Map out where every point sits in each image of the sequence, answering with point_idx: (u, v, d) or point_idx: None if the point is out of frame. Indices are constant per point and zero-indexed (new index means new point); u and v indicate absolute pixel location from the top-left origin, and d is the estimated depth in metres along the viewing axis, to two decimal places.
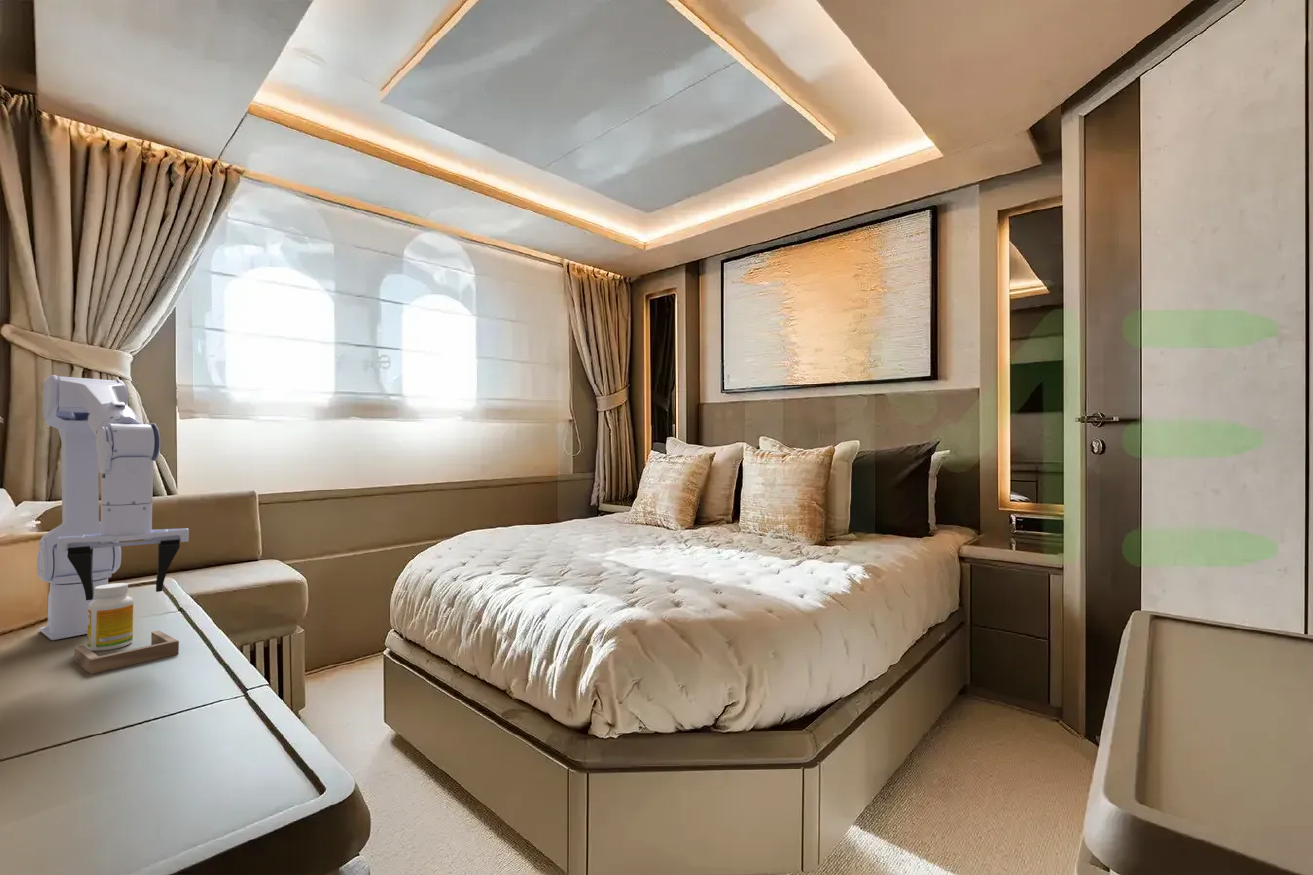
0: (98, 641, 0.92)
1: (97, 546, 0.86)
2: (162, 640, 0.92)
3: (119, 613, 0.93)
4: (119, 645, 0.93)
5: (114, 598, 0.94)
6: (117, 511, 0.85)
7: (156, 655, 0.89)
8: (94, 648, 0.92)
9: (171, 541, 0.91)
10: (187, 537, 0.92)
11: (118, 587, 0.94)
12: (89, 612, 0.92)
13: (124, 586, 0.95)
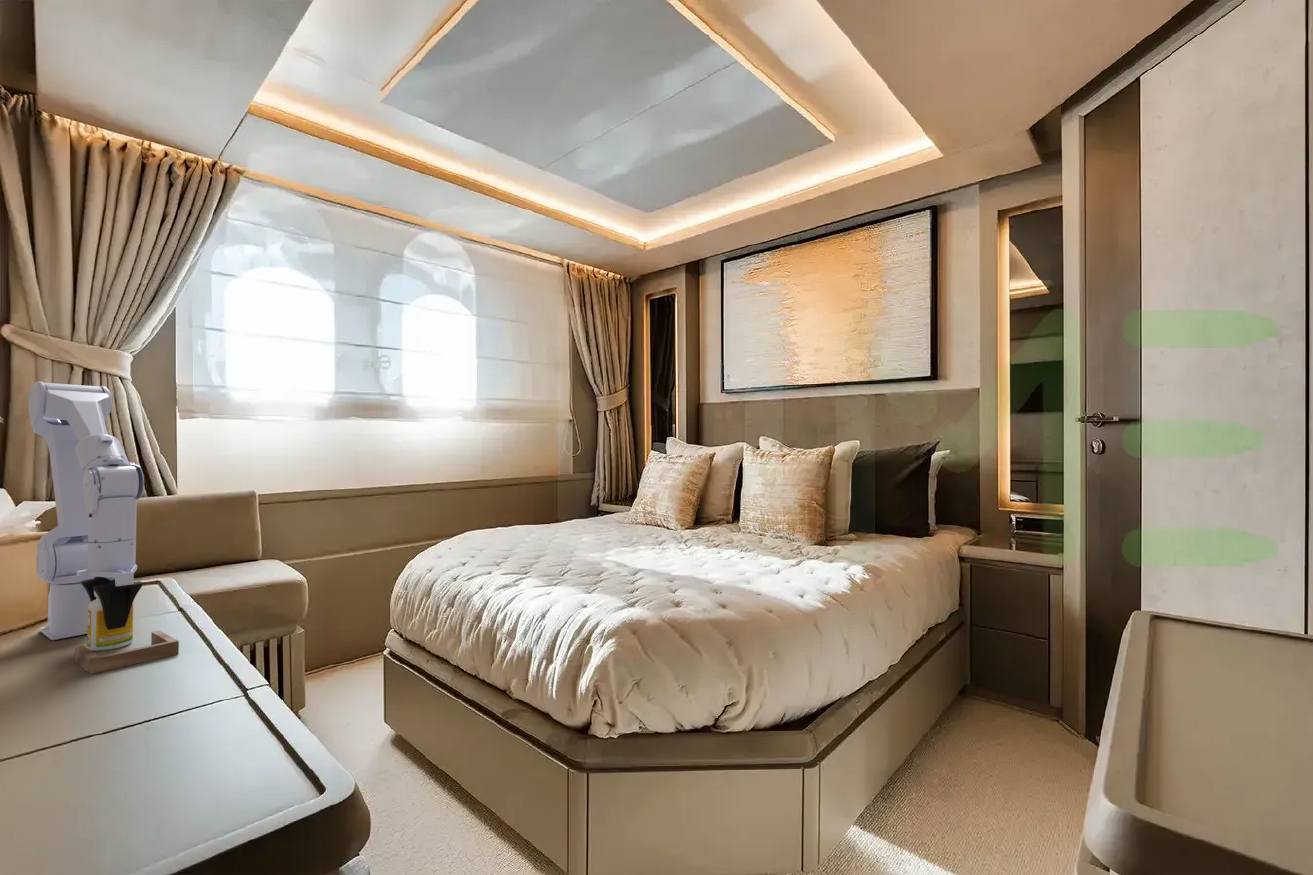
0: (98, 640, 0.92)
1: None
2: (162, 640, 0.92)
3: None
4: (119, 645, 0.93)
5: None
6: None
7: (156, 655, 0.89)
8: (94, 648, 0.92)
9: (114, 583, 0.91)
10: (116, 582, 0.90)
11: None
12: (89, 612, 0.92)
13: None
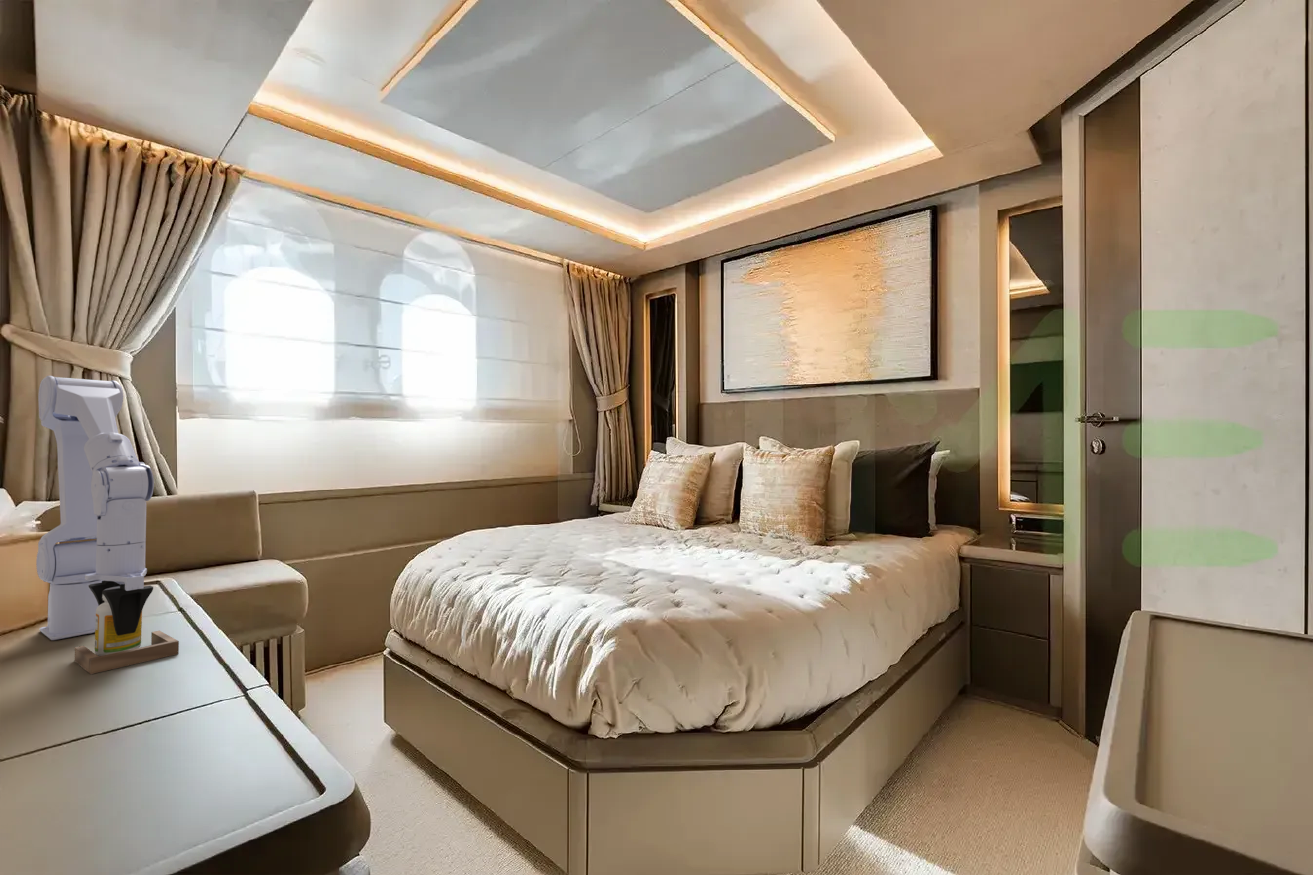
0: (106, 646, 0.89)
1: None
2: (162, 640, 0.92)
3: None
4: None
5: None
6: None
7: (156, 655, 0.89)
8: (102, 653, 0.89)
9: (123, 587, 0.88)
10: (126, 586, 0.87)
11: None
12: (97, 616, 0.90)
13: None
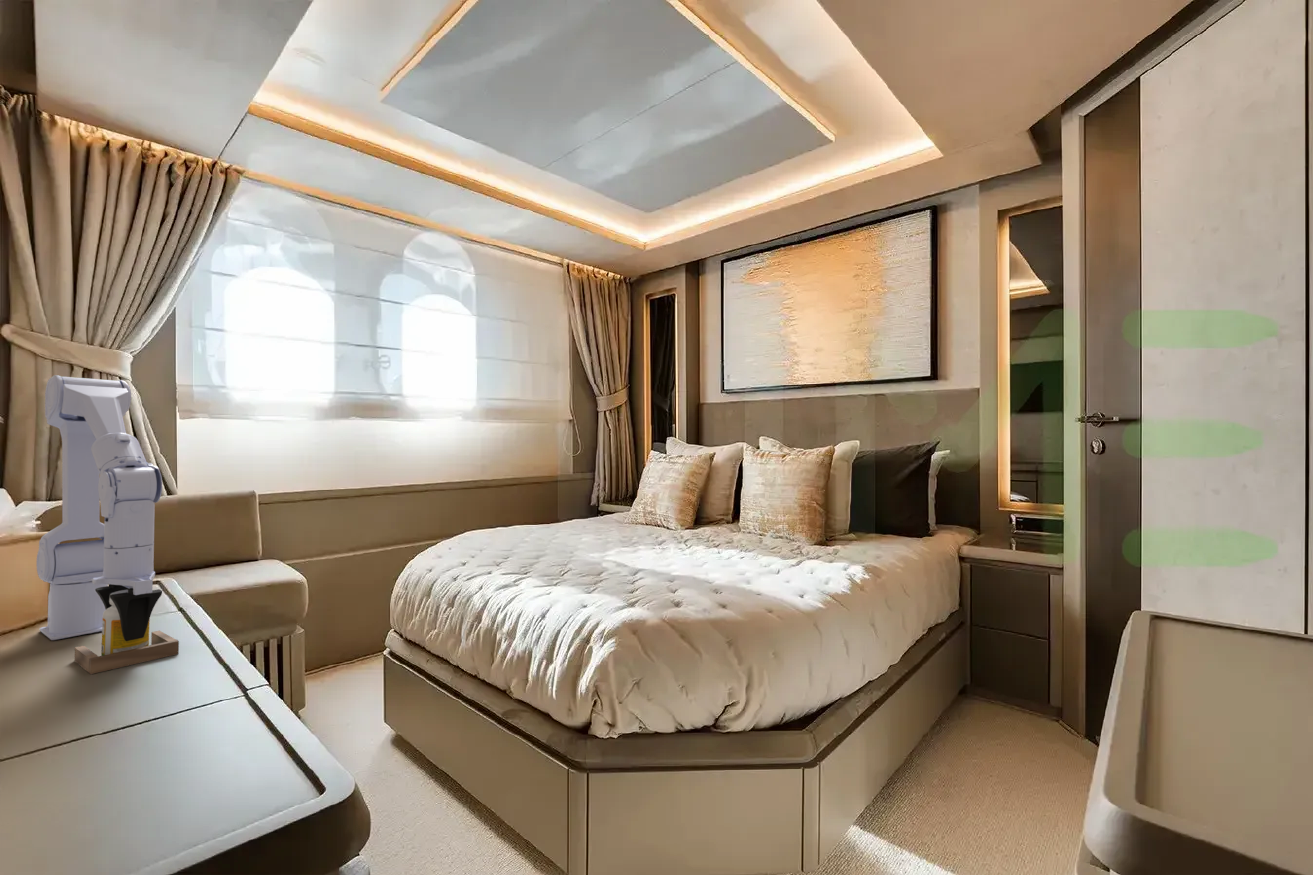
0: (113, 651, 0.87)
1: None
2: (162, 640, 0.92)
3: None
4: None
5: None
6: None
7: (156, 655, 0.89)
8: None
9: (131, 591, 0.86)
10: (134, 590, 0.85)
11: None
12: (104, 621, 0.87)
13: None
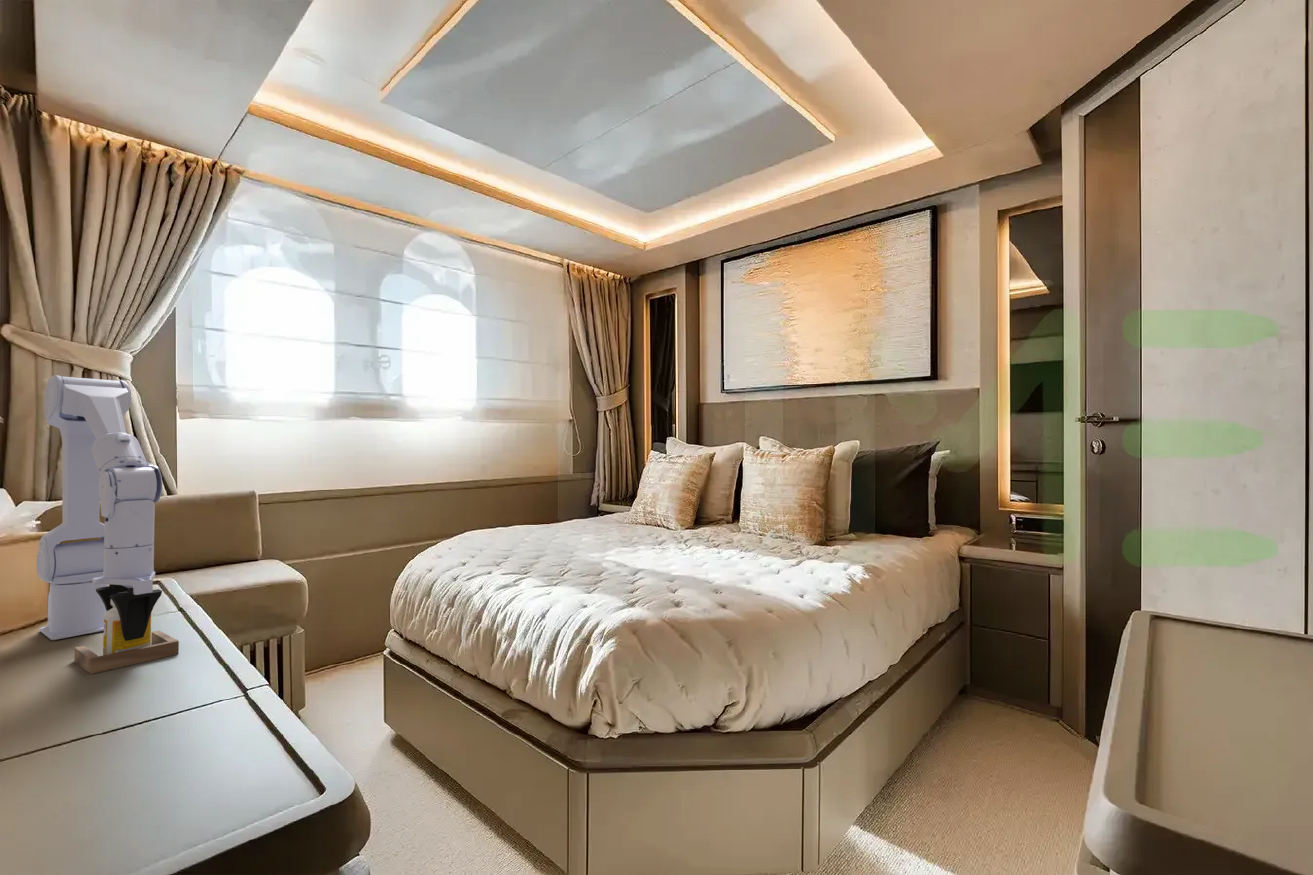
0: (114, 652, 0.87)
1: None
2: (162, 640, 0.92)
3: None
4: None
5: None
6: None
7: (156, 655, 0.89)
8: None
9: (132, 591, 0.86)
10: (134, 590, 0.85)
11: None
12: (105, 622, 0.87)
13: None
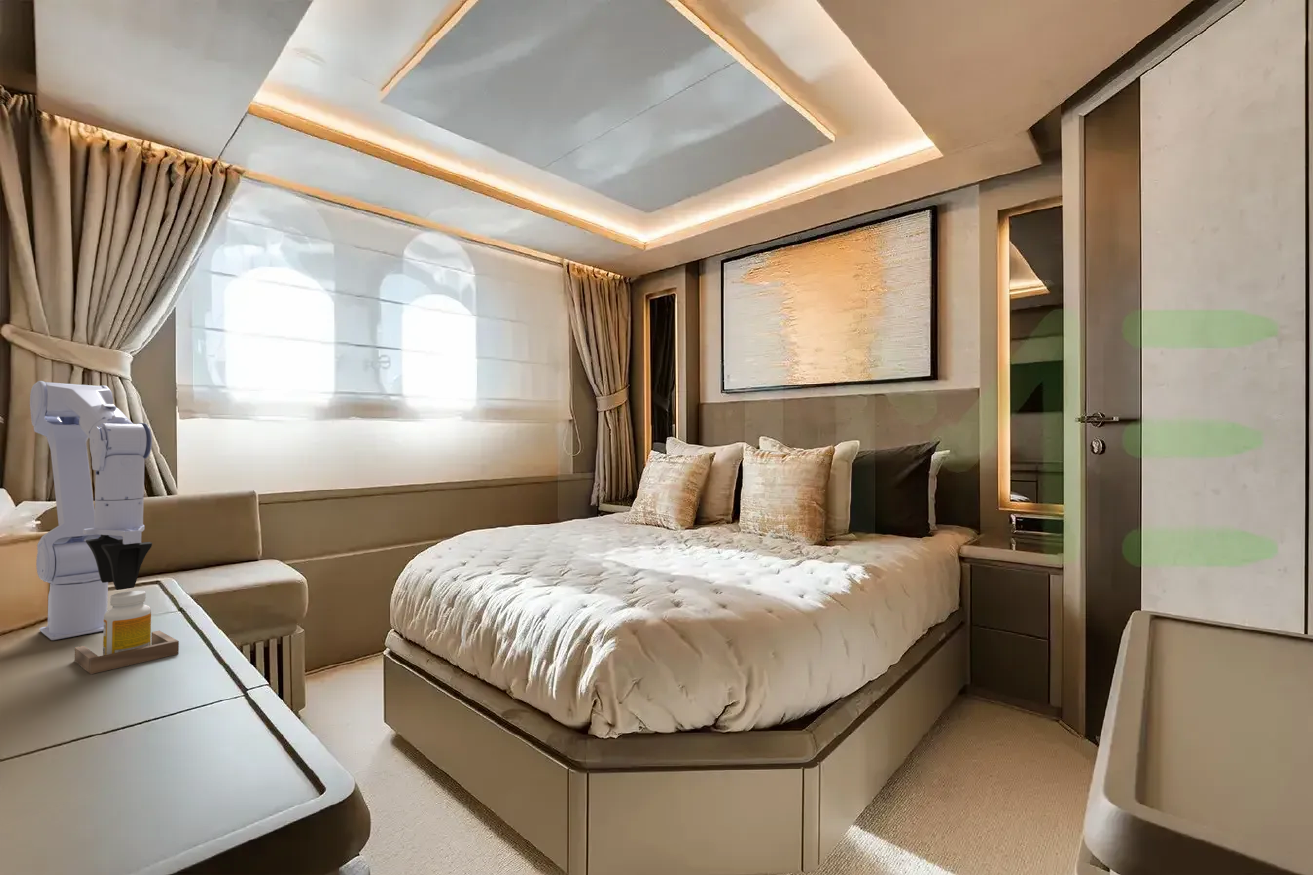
0: (114, 652, 0.87)
1: (110, 535, 0.94)
2: (162, 640, 0.92)
3: (135, 624, 0.88)
4: None
5: (130, 607, 0.88)
6: None
7: (156, 655, 0.89)
8: None
9: (121, 541, 0.89)
10: (123, 539, 0.88)
11: (135, 595, 0.89)
12: (105, 622, 0.87)
13: (141, 594, 0.90)
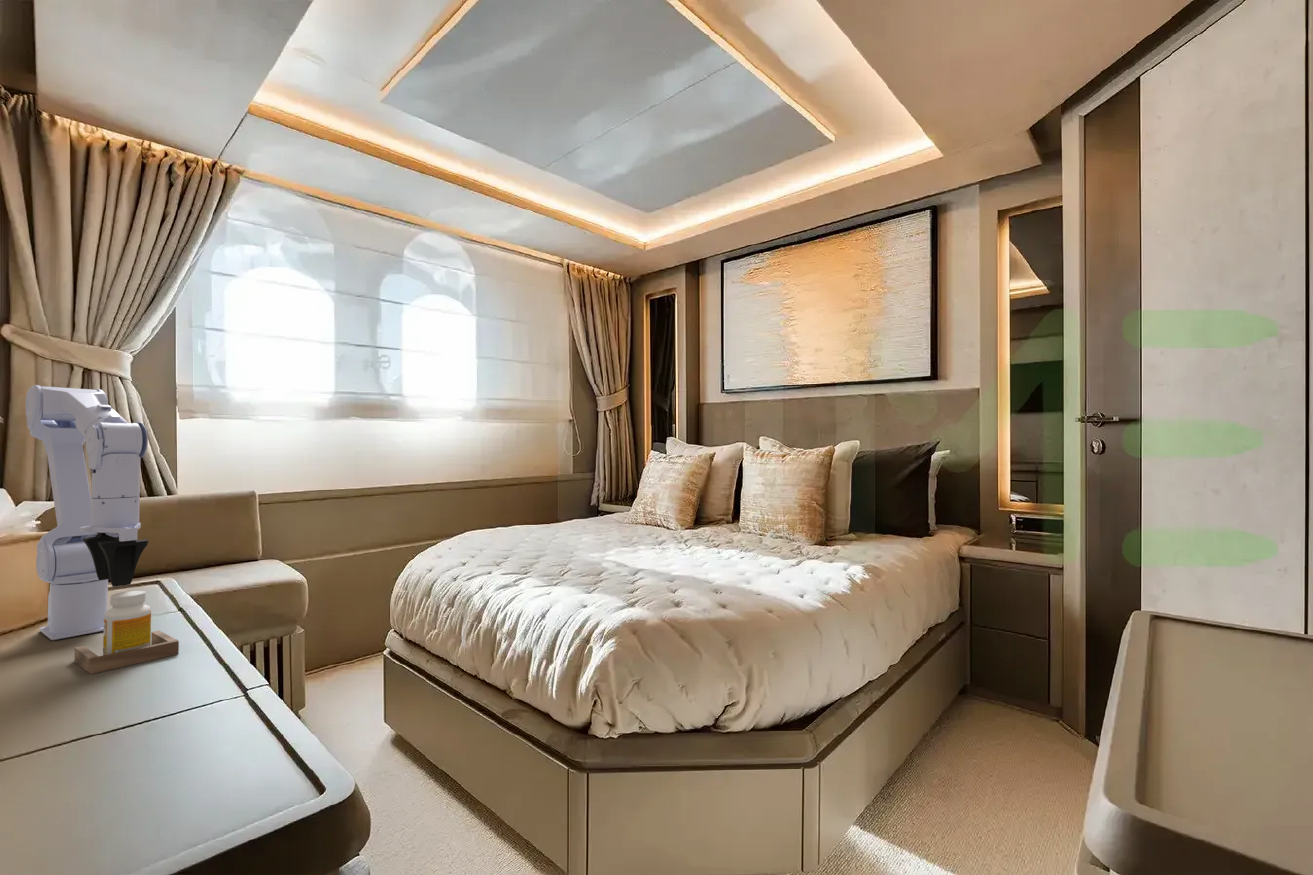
0: (114, 652, 0.87)
1: (107, 533, 0.95)
2: (162, 640, 0.92)
3: (135, 624, 0.88)
4: None
5: (130, 607, 0.88)
6: None
7: (156, 655, 0.89)
8: None
9: (117, 538, 0.90)
10: (120, 537, 0.89)
11: (135, 595, 0.89)
12: (105, 622, 0.87)
13: (141, 594, 0.90)
